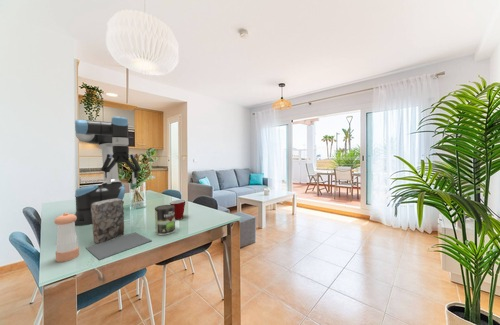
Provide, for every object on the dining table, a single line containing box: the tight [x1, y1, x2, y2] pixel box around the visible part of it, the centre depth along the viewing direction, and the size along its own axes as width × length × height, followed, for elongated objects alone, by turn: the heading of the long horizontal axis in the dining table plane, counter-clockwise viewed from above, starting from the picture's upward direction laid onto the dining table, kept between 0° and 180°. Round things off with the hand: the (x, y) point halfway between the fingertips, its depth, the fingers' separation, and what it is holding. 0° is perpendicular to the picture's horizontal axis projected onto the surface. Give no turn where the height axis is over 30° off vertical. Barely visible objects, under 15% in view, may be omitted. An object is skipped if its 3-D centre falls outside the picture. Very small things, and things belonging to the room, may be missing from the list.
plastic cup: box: [168, 199, 187, 220], centre depth 135 cm, size 11×11×12 cm
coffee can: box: [154, 204, 176, 236], centre depth 112 cm, size 10×10×14 cm
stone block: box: [91, 198, 125, 244], centre depth 104 cm, size 13×7×20 cm, turn 158°
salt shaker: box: [54, 212, 80, 263], centre depth 84 cm, size 7×7×19 cm
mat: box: [85, 232, 152, 261], centre depth 96 cm, size 18×22×1 cm
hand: (121, 183), depth 111 cm, fingers open, 13 cm apart
